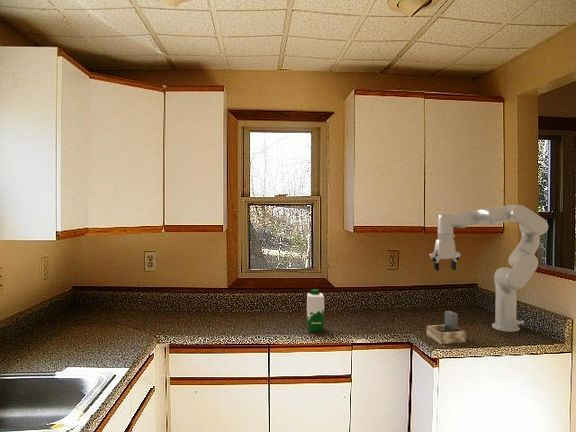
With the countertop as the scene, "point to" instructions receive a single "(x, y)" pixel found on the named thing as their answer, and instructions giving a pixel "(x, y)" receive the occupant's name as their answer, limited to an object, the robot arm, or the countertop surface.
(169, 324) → the countertop surface
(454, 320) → the steel L-bracket
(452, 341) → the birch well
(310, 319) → the milk carton
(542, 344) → the countertop surface
